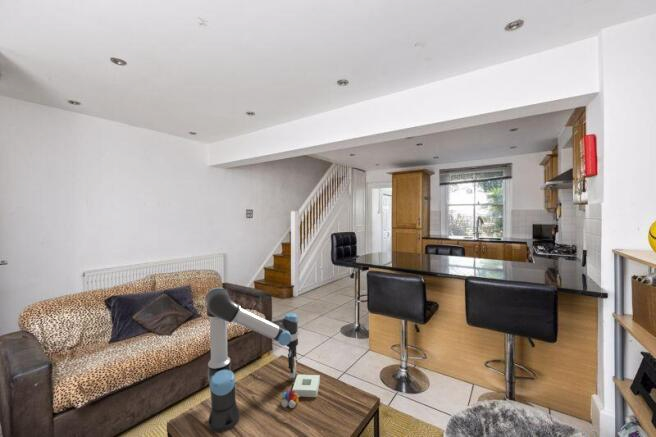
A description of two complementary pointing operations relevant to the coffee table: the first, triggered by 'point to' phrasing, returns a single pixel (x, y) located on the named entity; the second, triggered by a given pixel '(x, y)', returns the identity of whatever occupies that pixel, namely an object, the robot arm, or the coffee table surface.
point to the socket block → (306, 385)
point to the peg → (294, 370)
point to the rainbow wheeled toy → (290, 399)
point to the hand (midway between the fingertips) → (293, 374)
